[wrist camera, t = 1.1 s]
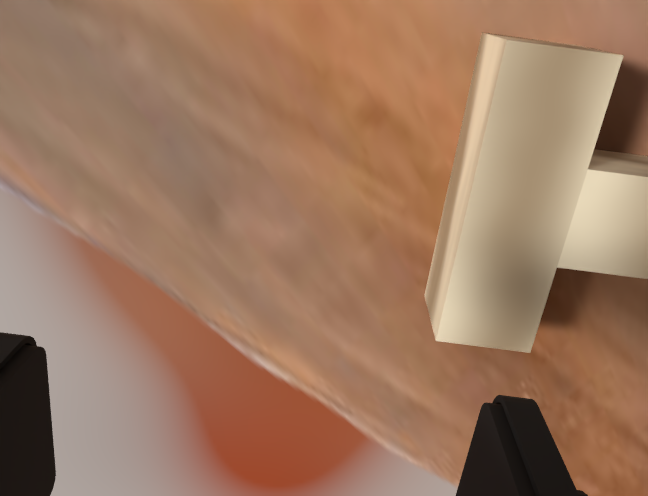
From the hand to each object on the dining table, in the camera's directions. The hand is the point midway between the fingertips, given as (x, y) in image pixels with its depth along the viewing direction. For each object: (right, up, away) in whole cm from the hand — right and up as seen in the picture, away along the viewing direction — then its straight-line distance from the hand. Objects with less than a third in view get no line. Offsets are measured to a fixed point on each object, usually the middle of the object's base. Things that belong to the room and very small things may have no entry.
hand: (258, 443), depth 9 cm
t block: (+13, +6, +16) cm, 21 cm away
